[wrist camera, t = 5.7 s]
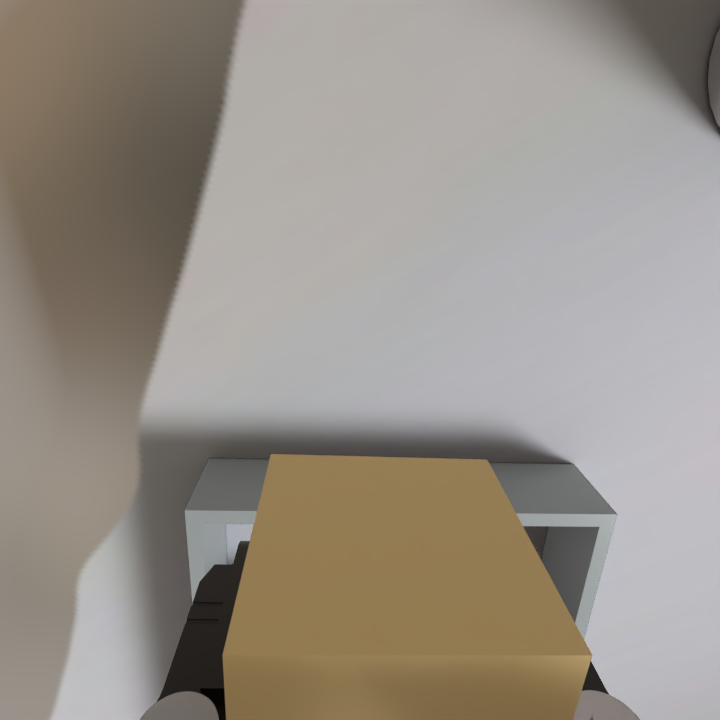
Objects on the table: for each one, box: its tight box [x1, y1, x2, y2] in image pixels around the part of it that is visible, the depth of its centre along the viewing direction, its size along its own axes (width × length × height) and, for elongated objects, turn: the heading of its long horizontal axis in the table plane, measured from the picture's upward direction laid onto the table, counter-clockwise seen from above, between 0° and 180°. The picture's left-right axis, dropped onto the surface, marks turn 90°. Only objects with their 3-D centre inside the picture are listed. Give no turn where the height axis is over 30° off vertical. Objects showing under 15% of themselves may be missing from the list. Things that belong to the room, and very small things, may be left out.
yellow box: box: [222, 454, 592, 720], centre depth 10 cm, size 6×5×5 cm
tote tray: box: [185, 458, 617, 639], centre depth 32 cm, size 27×23×5 cm
